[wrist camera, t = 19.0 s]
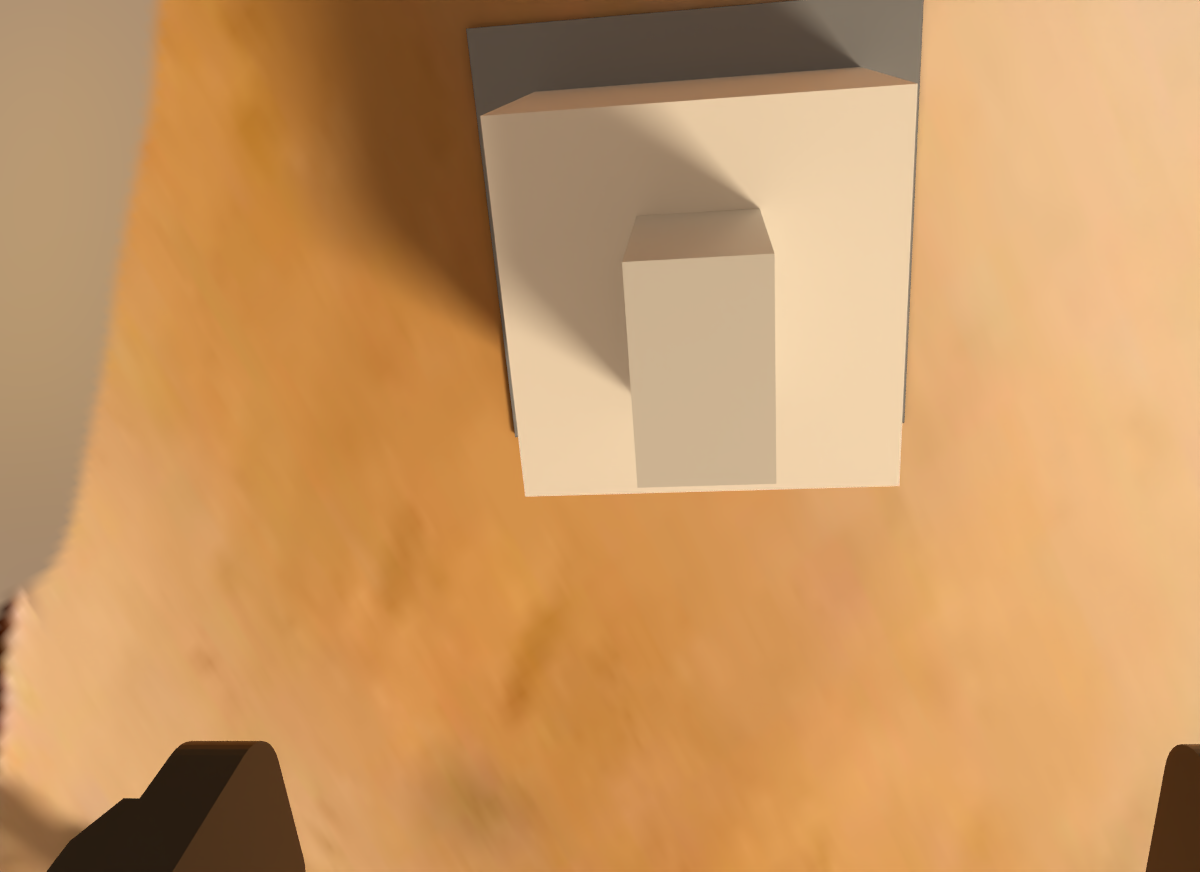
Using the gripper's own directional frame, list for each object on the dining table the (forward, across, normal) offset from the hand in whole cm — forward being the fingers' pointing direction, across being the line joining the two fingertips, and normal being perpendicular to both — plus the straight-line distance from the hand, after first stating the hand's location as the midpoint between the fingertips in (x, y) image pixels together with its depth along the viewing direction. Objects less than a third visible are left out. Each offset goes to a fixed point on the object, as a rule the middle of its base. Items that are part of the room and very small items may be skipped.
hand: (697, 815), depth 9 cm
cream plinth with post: (+26, 0, 0) cm, 26 cm away
